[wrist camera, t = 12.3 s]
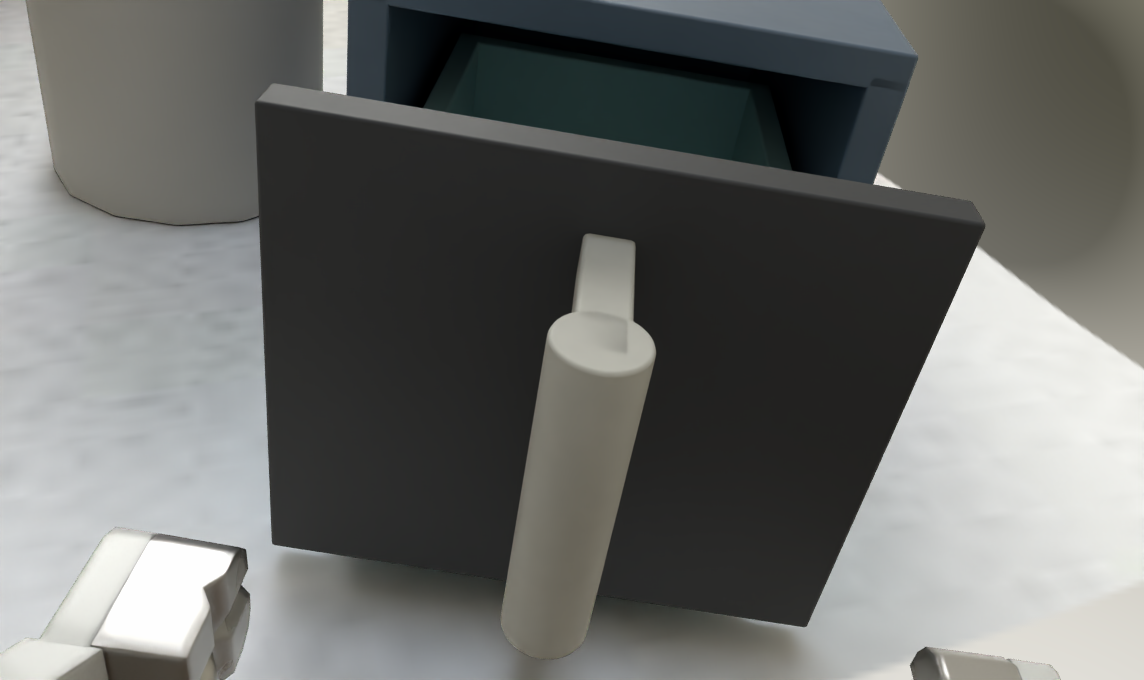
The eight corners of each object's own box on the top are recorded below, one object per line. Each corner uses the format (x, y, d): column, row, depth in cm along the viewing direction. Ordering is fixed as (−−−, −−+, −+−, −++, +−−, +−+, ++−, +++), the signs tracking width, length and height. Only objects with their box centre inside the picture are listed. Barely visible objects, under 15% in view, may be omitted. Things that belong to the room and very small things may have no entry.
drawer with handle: (833, 792, 16) (1071, 364, 11) (204, 698, 16) (150, 212, 11) (750, 274, 30) (839, -24, 25) (412, 218, 30) (432, -96, 25)
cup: (318, 231, 30) (318, -114, 25) (27, 219, 28) (-47, -158, 23) (324, 119, 37) (325, -173, 31) (88, 103, 35) (44, -211, 29)
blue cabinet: (773, 460, 25) (920, 56, 19) (340, 391, 24) (348, -44, 18) (735, 207, 36) (818, -93, 30) (441, 158, 36) (465, -156, 30)
